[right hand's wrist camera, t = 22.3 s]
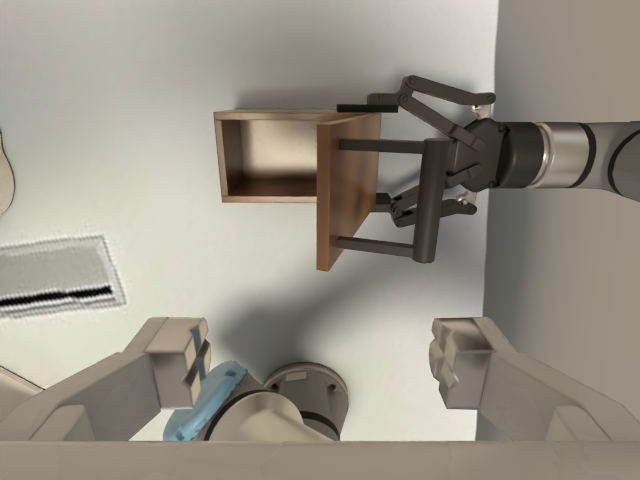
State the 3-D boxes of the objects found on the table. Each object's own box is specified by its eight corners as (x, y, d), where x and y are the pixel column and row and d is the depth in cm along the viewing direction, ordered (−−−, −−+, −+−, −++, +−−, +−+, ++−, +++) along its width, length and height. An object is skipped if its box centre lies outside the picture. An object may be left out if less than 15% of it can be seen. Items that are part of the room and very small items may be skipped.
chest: (239, 183, 50) (221, 202, 41) (234, 109, 47) (213, 112, 38) (361, 183, 51) (371, 203, 41) (364, 109, 47) (376, 112, 38)
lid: (316, 270, 25) (431, 287, 23) (316, 124, 22) (452, 127, 19) (367, 203, 41) (438, 210, 39) (372, 113, 37) (451, 114, 35)
